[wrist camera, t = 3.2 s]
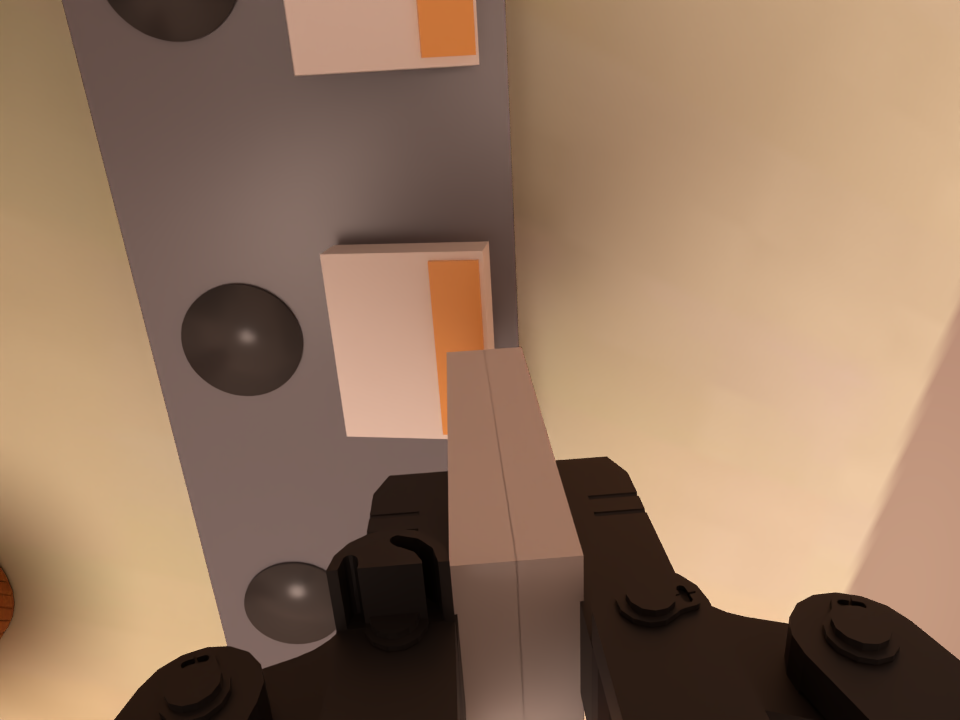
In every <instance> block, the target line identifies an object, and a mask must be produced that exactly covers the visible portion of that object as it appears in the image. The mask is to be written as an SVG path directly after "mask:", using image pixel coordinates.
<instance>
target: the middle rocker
mask: <svg viewBox="0 0 960 720" xmlns="http://www.w3.org/2000/svg"><path fill="white" fill-rule="evenodd" d="M320 260H321V267H322V273H323V280H324V287H325V294H326V300H327V307H328V314H329V320H330V327H331V334H332V341H333V347H334V354H335V361H336V367H337V374H338V381H339V388H340V394H341V401H342V408H343V414H344V421H345V428H346V434H347V437H386V438H425V439H448V429H447V352H459V351H472V350H486V349H495V348H494V329H493V311H492V292H491V274H490V256H489V241H484V242H441V243H398V244H355V245H333V246H332V247H330V248H329V249H327V250H326V251H324V252H323V253H321V254H320Z"/></svg>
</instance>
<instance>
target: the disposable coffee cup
mask: <svg viewBox="0 0 960 720" xmlns="http://www.w3.org/2000/svg"><path fill="white" fill-rule="evenodd" d="M13 609H14V599H13V592H12V589H11V587H10V584H9V582H8V580H7V577H6V575H5V574H4V572H3V571H2V569H1V568H0V639H1V637H2V635H3V633H4V632H5V631H6V629H7V628H8V626H9V623H10V621H11V619H12V617H13Z"/></svg>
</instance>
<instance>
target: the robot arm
mask: <svg viewBox="0 0 960 720" xmlns="http://www.w3.org/2000/svg"><path fill="white" fill-rule="evenodd" d="M447 429H448V471H442V472H429V473H416V474H403V475H390V476H388V478H387V479H386V480H385V481H384V482H383V483H382V485H381V486H380V487H379V488H378V489H377V491H376V492H375V493H374V494H373V499H372V505H371V510H370V519H369V522H368V528H367V535H365V536H363V537H361V538H358V539H356V540H354V541H352V542H350V543H348V544H347V545H346V546H345V547H344V548H342V549H341V550H340V551H339V552H338V553H337V554H335V555H334V557H333V558H332V560H331V562H330V564H329V566H328V568H327V570H326V575H327V581H328V586H329V592H330V598H331V603H332V609H333V615H334V620H335V626H336V634H335V635H334V636H333V637H332V638H331V639H330V640H328V641H327V642H325V643H324V644H322V645H321V646H319V647H318V648H316V649H314V650H312V651H310V652H307V653H305V654H303V655H301V656H298V657H296V658H293V659H290V660H287V661H284V662H281V663H278V664H275V665H272V666H269V667H266V668H263V669H262V666H261V664H260V663H259V662H258V661H257V660H256V659H255V658H254V656H253V655H252V654H251V653H250V652H248V651H245V650H241V649H238V648H235V647H231V646H223V647H207V648H203V649H200V650H197V651H194V652H191V653H188V654H185V655H182V656H180V657H178V658H177V659H175V660H173V661H172V662H170V663H168V664H167V665H165V666H163V667H162V668H160V669H158V670H157V671H156V672H155V673H154V674H153V675H152V676H151V677H150V678H149V679H148V680H147V681H146V682H145V683H144V684H143V685H142V686H141V687H140V688H139V689H138V690H137V691H136V693H135V694H134V695H133V696H132V698H131V699H130V700H129V701H128V703H127V704H126V705H125V707H124V708H123V709H122V710H121V712H120V713H119V714H118V715H117V717H116V718H115V719H114V720H584V711H585V716H586V720H960V660H959V659H957V658H956V657H955V656H954V655H952V654H951V653H950V652H949V651H947V650H946V649H945V648H944V647H943V646H941V645H940V644H939V643H938V642H936V641H935V640H934V639H933V638H931V637H930V636H929V635H928V634H926V633H925V632H924V631H923V630H922V629H920V628H919V627H918V626H917V625H915V624H914V623H913V622H912V621H910V620H909V619H907V618H906V617H904V616H902V615H901V614H899V613H898V612H896V611H895V610H893V609H891V608H890V607H888V606H886V605H883V604H881V603H878V602H875V601H873V600H870V599H867V598H864V597H862V596H856V595H849V594H842V593H827V594H818V595H812V596H810V597H808V598H807V599H805V600H803V601H801V602H799V603H797V605H796V606H795V608H794V610H793V612H792V614H791V615H790V617H789V624H787V623H781V622H775V621H768V620H762V619H756V618H749V617H744V616H740V615H736V614H731V613H727V612H725V611H722V610H720V609H717V608H715V607H712V606H711V604H710V602H709V600H708V599H707V598H706V596H705V595H704V594H703V593H702V591H701V590H700V589H699V588H698V586H697V585H695V584H694V583H692V582H691V581H689V580H687V579H686V578H684V577H682V576H681V575H679V574H677V573H675V571H674V569H673V567H672V565H671V563H670V561H669V559H668V557H667V555H666V553H665V550H664V548H663V546H662V544H661V542H660V540H659V538H658V536H657V534H656V531H655V529H654V527H653V525H652V523H651V521H650V519H649V517H648V515H647V513H645V509H644V506H643V504H642V502H641V500H640V498H639V496H637V491H636V489H635V487H634V485H633V483H632V481H631V479H630V477H629V475H628V473H627V472H626V471H625V470H624V469H622V468H621V467H620V466H618V465H617V464H616V463H614V462H613V461H612V460H611V459H609V458H608V457H595V458H582V459H569V460H556V461H555V458H554V455H553V451H552V448H551V445H550V441H549V438H548V434H547V431H546V428H545V424H544V421H543V418H542V414H541V411H540V408H539V404H538V401H537V398H536V394H535V391H534V387H533V384H532V381H531V377H530V374H529V371H528V367H527V364H526V361H525V357H524V354H523V350H522V347H514V348H500V349H486V350H472V351H459V352H447Z"/></svg>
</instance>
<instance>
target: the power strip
mask: <svg viewBox="0 0 960 720" xmlns="http://www.w3.org/2000/svg"><path fill="white" fill-rule="evenodd" d="M62 3H63V7H64V11H65V15H66V19H67V22H68V26H69V30H70V34H71V38H72V42H73V46H74V50H75V54H76V58H77V61H78V65H79V69H80V73H81V77H82V81H83V85H84V89H85V93H86V97H87V100H88V104H89V108H90V112H91V116H92V120H93V124H94V128H95V132H96V135H97V139H98V143H99V147H100V151H101V155H102V159H103V163H104V167H105V171H106V174H107V178H108V182H109V186H110V190H111V194H112V198H113V202H114V206H115V210H116V213H117V217H118V221H119V225H120V229H121V233H122V237H123V241H124V245H125V249H126V252H127V256H128V260H129V264H130V268H131V272H132V276H133V280H134V284H135V288H136V291H137V295H138V299H139V303H140V307H141V311H142V315H143V319H144V323H145V327H146V330H147V334H148V338H149V342H150V346H151V350H152V354H153V358H154V362H155V365H156V369H157V373H158V377H159V381H160V385H161V389H162V393H163V397H164V401H165V404H166V408H167V412H168V416H169V420H170V424H171V428H172V432H173V436H174V440H175V443H176V447H177V451H178V455H179V459H180V463H181V467H182V471H183V475H184V479H185V482H186V486H187V490H188V494H189V498H190V502H191V506H192V510H193V514H194V518H195V521H196V525H197V529H198V533H199V537H200V541H201V545H202V549H203V553H204V556H205V560H206V564H207V568H208V572H209V576H210V580H211V584H212V588H213V592H214V595H215V599H216V603H217V607H218V611H219V615H220V619H221V623H222V627H223V631H224V634H225V638H226V642H227V646H231V647H235V648H238V649H241V650H245V651H248V652H250V653H251V654H252V655H253V656H254V658H255V659H256V660H257V661H258V662H259V663H260V664H261V666H262V669H263V668H266V667H269V666H272V665H275V664H278V663H281V662H284V661H287V660H290V659H293V658H296V657H298V656H301V655H303V654H305V653H307V652H310V651H312V650H314V649H316V648H318V647H319V646H321V645H322V644H324V643H325V642H327V641H328V640H330V639H331V638H332V637H333V636H334V635H335V634H336V626H335V620H334V615H333V609H332V603H331V598H330V592H329V586H328V581H327V575H326V570H327V568H328V566H329V564H330V562H331V560H332V558H333V557H334V555H335V554H337V553H338V552H339V551H340V550H341V549H342V548H344V547H345V546H346V545H347V544H348V543H350V542H352V541H354V540H356V539H358V538H361V537H363V536H365V535H367V528H368V522H369V519H370V510H371V505H372V499H373V494H374V493H375V492H376V491H377V489H378V488H379V487H380V486H381V485H382V483H383V482H384V481H385V480H386V479H387V478H388V476H390V475H403V474H416V473H429V472H442V471H448V439H425V438H386V437H347V434H346V428H345V421H344V414H343V408H342V401H341V394H340V388H339V381H338V374H337V367H336V361H335V354H334V347H333V341H332V334H331V327H330V320H329V314H328V307H327V300H326V294H325V287H324V280H323V273H322V267H321V260H320V254H321V253H323V252H324V251H326V250H327V249H329V248H330V247H332V246H333V245H355V244H398V243H441V242H484V241H489V256H490V274H491V292H492V311H493V329H494V348H495V349H500V348H514V347H519V338H518V313H517V287H516V262H515V237H514V212H513V187H512V162H511V137H510V112H509V87H508V62H507V37H506V12H505V0H476V10H477V28H478V47H479V65H473V66H461V67H444V68H427V69H410V70H393V71H376V72H359V73H342V74H325V75H308V76H294V70H293V63H292V57H291V50H290V43H289V36H288V30H287V23H286V16H285V9H284V3H283V0H62Z"/></svg>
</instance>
